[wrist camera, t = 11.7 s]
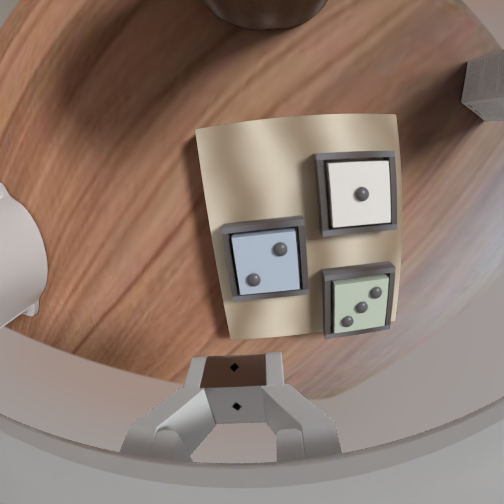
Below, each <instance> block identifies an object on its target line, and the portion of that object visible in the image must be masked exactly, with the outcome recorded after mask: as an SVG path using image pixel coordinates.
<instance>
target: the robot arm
mask: <svg viewBox="0 0 504 504" xmlns="http://www.w3.org/2000/svg"><path fill="white" fill-rule="evenodd" d="M47 273H48V268H47V257H46V252H45V248H44V244H43V240H42V238H41V235H40V232H39V230H38V228H37V226H36V224H35V222H34V220H33V218H32V217H31V215H30V214H29V212H28V211H27V210H26V209H25V208H24V207H23V206H22V205H21V204H20V203H19V202H17V201H16V200H14V199H13V198H12V197H11V196H10V195H9V193H8V192H7V190H6V188H5V187H4V185H3V184H2V183H0V329H1V328H2V327H4V326H5V325H6V324H8V323H9V322H11V321H12V320H13V319H15V318H16V317H18V316H19V315H20V314H25V315H28V316H34V315H36V314H37V313H38V309H39V298H40V296H41V294H42V292H43V291H44V288H45V286H46V282H47ZM262 422H266V423H267V425H268V426H269V427H270V428H271V430H272V431H273V432H274V433H275V435H276V440H277V441H276V442H277V462H266V463H200V462H193V461H192V459H191V457H190V455H191V454H192V453H193V451H194V450H195V449H196V448H197V447H198V446H199V445H200V443H201V442H202V441H203V440H204V439H205V438H206V436H207V435H208V434H209V433H210V432H211V431H212V429H213V428H214V427H215V426H216V424H230V423H262ZM0 504H504V397H502V398H500V399H498V400H496V401H495V402H493V403H491V404H489V405H487V406H485V407H483V408H481V409H478V410H476V411H474V412H472V413H470V414H468V415H465V416H463V417H461V418H458V419H456V420H454V421H451V422H449V423H446V424H444V425H441V426H439V427H436V428H433V429H430V430H428V431H425V432H422V433H419V434H416V435H413V436H410V437H406V438H403V439H400V440H396V441H393V442H389V443H386V444H382V445H378V446H374V447H370V448H365V449H361V450H356V451H352V452H346V453H342V452H341V447H340V443H339V438H338V434H337V430H336V425H335V422H334V421H333V420H331V419H330V418H329V417H328V416H327V415H325V414H324V413H323V412H322V411H320V410H319V409H318V408H317V407H316V406H314V405H313V404H312V403H311V402H309V401H308V400H307V399H306V398H305V397H304V396H302V395H301V394H300V393H299V392H298V391H296V390H295V389H294V388H293V387H292V386H291V385H290V384H284V376H283V366H282V355H281V352H280V351H278V352H270V353H264V354H252V355H238V356H208V357H207V356H200V357H193V358H192V360H191V363H190V366H189V370H188V373H187V376H186V380H185V383H184V386H183V388H179V389H178V390H176V391H175V392H174V393H172V394H171V395H170V396H168V397H167V398H166V399H165V400H163V401H162V402H161V403H159V404H158V405H157V406H156V407H154V408H153V409H151V410H150V411H149V412H147V413H146V414H145V415H143V416H142V417H141V418H139V419H138V420H137V421H135V422H134V423H132V424H131V425H130V427H129V430H128V432H127V435H126V437H125V440H124V442H123V445H122V447H121V450H120V452H115V451H110V450H106V449H101V448H97V447H93V446H89V445H85V444H82V443H78V442H74V441H71V440H68V439H64V438H61V437H58V436H55V435H52V434H49V433H46V432H44V431H41V430H38V429H35V428H33V427H30V426H28V425H25V424H22V423H20V422H18V421H16V420H13V419H11V418H8V417H6V416H4V415H2V414H0Z"/></svg>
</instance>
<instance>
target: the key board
mask: <svg viewBox="0 0 504 504" xmlns="http://www.w3.org/2000/svg"><path fill="white" fill-rule="evenodd" d="M195 132H196V139H197V146H198V153H199V160H200V167H201V174H202V181H203V187H204V194H205V200H206V206H207V213H208V219H209V225H210V231H211V237H212V242H213V248H214V254H215V260H216V265H217V271H218V276H219V282H220V287H221V292H222V298H223V303H224V308H225V313H226V318H227V323H228V328H229V333H230V338H231V340H241V339H255V338H268V337H279V336H290V335H299V334H309V333H317V332H324V336H325V339H329V338H336V337H343V336H350V335H357V334H363V333H369V332H375V331H381V330H386V329H390V323H391V321H395V317H396V308H397V300H398V290H399V278H400V264H401V245H402V181H401V162H400V149H399V137H398V128H397V119H396V114H328V115H308V116H294V117H282V118H272V119H262V120H254V121H246V122H239V123H232V124H225V125H219V126H213V127H207V128H201V129H196V130H195ZM365 160H385V161H389V176H390V203H391V222H389V223H378V224H366V225H356V226H345V227H334V228H333V227H332V226H331V225H330V223H329V221H328V206H327V192H326V180H325V169H324V163H328V162H344V161H365ZM284 227H294V229H295V232H296V244H297V257H298V270H299V284H300V289H296V290H287V291H277V292H266V293H256V294H244V295H240V289H239V283H238V276H237V270H236V264H235V257H234V251H233V244H232V236H233V233H237V232H246V231H256V230H265V229H274V228H284ZM379 274H386V275H387V277H388V278H389V283H388V296H387V306H386V316H385V325H384V326H379V327H373V328H367V329H361V330H355V331H348V332H341V333H334V330H333V327H332V324H331V280H339V279H347V278H355V277H363V276H371V275H379Z"/></svg>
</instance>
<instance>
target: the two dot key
mask: <svg viewBox="0 0 504 504" xmlns="http://www.w3.org/2000/svg"><path fill="white" fill-rule="evenodd" d="M232 244H233V251H234V257H235V264H236V270H237V276H238V283H239V289H240V295H244V294H256V293H266V292H277V291H287V290H296V289H300V284H299V270H298V257H297V244H296V232H295V229H294V227H284V228H274V229H265V230H256V231H246V232H237V233H233V236H232Z"/></svg>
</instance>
